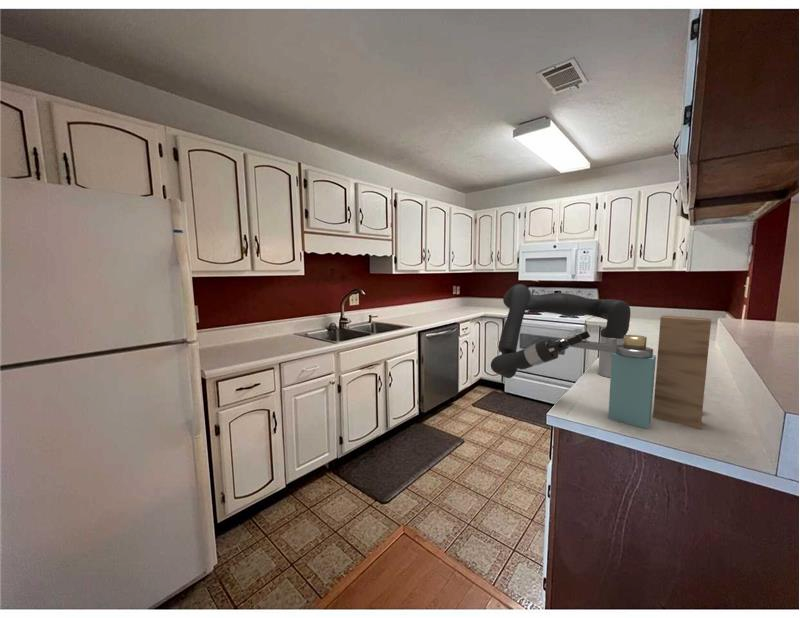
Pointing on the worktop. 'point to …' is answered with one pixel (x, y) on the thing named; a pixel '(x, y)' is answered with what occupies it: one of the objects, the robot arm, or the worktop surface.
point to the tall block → (631, 390)
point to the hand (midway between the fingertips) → (585, 335)
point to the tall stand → (681, 369)
